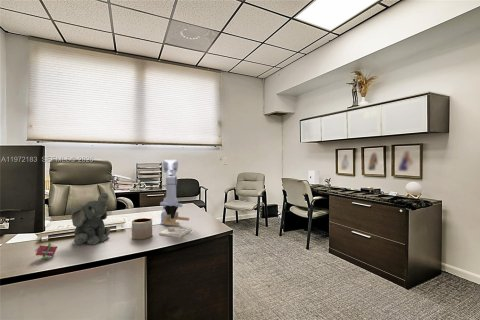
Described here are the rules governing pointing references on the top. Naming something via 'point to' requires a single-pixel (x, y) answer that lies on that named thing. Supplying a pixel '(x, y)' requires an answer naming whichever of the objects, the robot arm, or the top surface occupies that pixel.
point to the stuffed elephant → (91, 221)
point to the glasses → (168, 219)
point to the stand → (175, 232)
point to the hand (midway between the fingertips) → (171, 218)
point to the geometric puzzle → (46, 250)
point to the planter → (141, 228)
